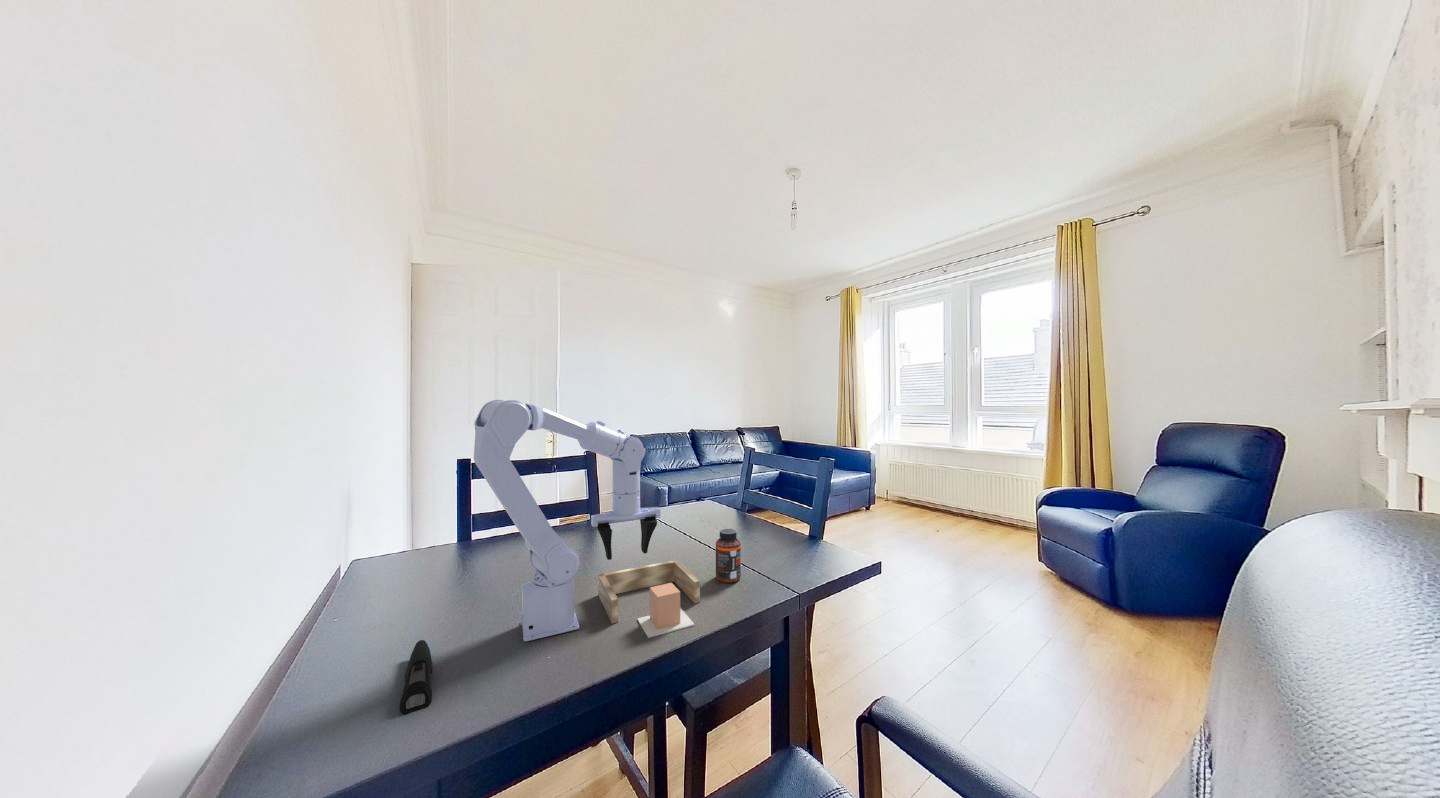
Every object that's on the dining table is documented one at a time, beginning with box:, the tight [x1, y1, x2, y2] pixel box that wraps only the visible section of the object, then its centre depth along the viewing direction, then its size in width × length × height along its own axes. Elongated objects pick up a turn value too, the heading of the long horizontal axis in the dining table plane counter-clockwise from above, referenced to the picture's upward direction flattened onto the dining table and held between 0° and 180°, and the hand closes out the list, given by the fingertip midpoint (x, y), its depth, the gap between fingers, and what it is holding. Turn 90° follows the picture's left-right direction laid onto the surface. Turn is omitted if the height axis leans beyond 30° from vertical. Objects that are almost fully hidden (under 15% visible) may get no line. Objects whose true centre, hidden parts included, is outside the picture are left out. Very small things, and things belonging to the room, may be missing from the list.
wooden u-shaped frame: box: [597, 559, 701, 624], centre depth 92 cm, size 18×13×4 cm
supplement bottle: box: [715, 528, 742, 584], centre depth 102 cm, size 6×6×11 cm
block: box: [649, 582, 681, 629], centre depth 82 cm, size 4×4×6 cm
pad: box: [636, 607, 695, 639], centre depth 82 cm, size 9×7×1 cm
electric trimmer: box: [399, 639, 434, 716], centre depth 66 cm, size 4×16×3 cm, turn 32°
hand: (626, 555), depth 92 cm, fingers open, 7 cm apart
